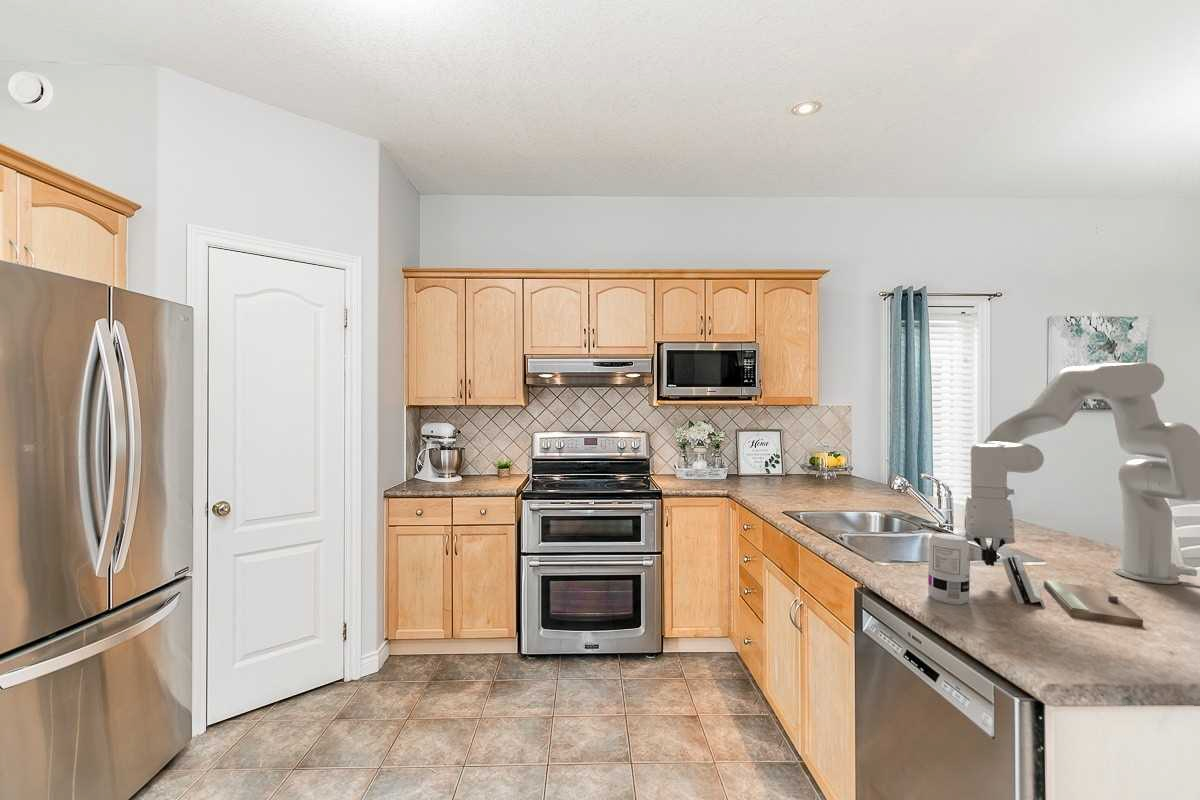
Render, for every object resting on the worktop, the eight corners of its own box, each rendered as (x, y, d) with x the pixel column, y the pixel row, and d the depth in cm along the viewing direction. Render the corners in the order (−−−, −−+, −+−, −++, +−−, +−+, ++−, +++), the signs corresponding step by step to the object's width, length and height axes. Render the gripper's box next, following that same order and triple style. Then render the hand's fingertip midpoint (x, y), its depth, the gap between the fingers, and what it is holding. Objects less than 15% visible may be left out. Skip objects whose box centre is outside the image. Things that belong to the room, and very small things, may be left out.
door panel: (1104, 594, 136) (1105, 583, 136) (1142, 626, 117) (1143, 614, 117) (1043, 586, 141) (1043, 576, 141) (1070, 616, 122) (1070, 604, 122)
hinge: (1045, 608, 127) (1027, 564, 128) (1021, 610, 129) (1003, 567, 131) (1037, 587, 141) (1021, 547, 142) (1015, 589, 143) (1000, 551, 145)
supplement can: (920, 593, 135) (921, 532, 135) (952, 592, 136) (953, 531, 136) (943, 606, 127) (945, 541, 127) (977, 605, 128) (978, 540, 128)
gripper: (1021, 492, 141) (1021, 563, 142) (952, 488, 148) (952, 556, 148) (1028, 497, 135) (1029, 572, 135) (956, 493, 141) (956, 564, 142)
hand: (989, 564), depth 142 cm, fingers closed
